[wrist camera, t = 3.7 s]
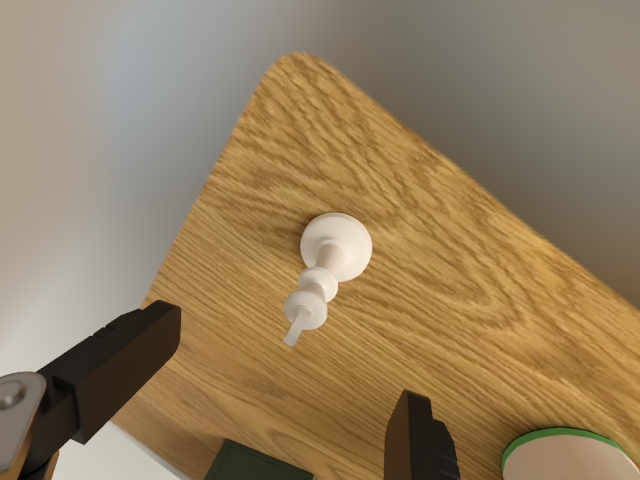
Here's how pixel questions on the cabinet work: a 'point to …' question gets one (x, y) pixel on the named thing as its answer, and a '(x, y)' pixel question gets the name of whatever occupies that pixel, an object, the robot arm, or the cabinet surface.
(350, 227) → the chess piece
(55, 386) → the robot arm
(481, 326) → the cabinet surface
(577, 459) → the cup
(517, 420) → the cabinet surface
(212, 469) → the bin
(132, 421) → the cabinet surface
